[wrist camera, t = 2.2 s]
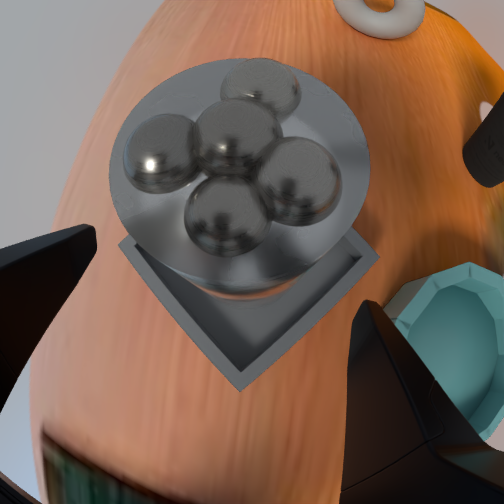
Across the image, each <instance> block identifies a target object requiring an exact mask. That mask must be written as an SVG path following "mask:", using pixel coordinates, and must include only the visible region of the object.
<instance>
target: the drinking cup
mask: <svg viewBox="0 0 504 504" xmlns="http://www.w3.org/2000/svg"><path fill="white" fill-rule="evenodd" d="M463 159H464V162H465V165H466V167H467V169H468V171H469V172H470V174H471V175H472V177H473V178H474V179H475V180H476V181H477V182H478V183H480V184H481V185H483V186H485V187H488V188H491V187H494V186H496V185H498V184H500V183H502V182H503V181H504V92H503V94H502V95H501V97H500V98H499V100H498V101H497V102H496V104H495V105H494V107H493V108H492V110H491V111H490V112H489V114H488V115H487V117H486V118H485V119H484V121H483V122H482V123H481V125H480V126H479V127H478V129H477V130H476V131H475V133H474V134H473V135H472V136H471V138H470V139H469V140H468V142H467V143H466V144H465V146H464V148H463Z"/></svg>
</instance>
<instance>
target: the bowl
mask: <svg viewBox="0 0 504 504" xmlns="http://www.w3.org/2000/svg"><path fill="white" fill-rule="evenodd" d="M383 310H384V312H385V313H386V314H387V315H388V317H389V318H390V319H391V320H392V322H393V323H394V324H395V326H396V327H397V328H398V329H399V331H400V332H401V333H402V334H403V336H404V337H405V338H406V340H407V341H408V342H409V344H410V345H411V346H412V348H413V349H414V350H415V351H416V353H417V354H418V355H419V357H420V358H421V359H422V361H423V362H424V364H425V365H426V366H427V368H428V369H429V370H430V372H431V373H432V374H433V376H434V377H435V380H437V381H438V383H439V384H440V385H441V387H442V388H443V390H444V391H445V392H446V394H447V395H448V396H449V398H450V399H451V401H452V402H453V403H454V404H455V406H456V407H457V408H458V409H459V411H460V412H461V413H462V414H463V416H464V417H465V418H466V419H467V421H468V422H469V423H470V424H471V426H472V427H473V428H474V429H475V431H476V432H477V433H478V434H479V436H480V437H481V438H482V439H483V441H485V440H487V439H488V438H489V437H490V436H491V435H492V433H493V432H494V430H495V429H496V428H497V426H498V424H499V423H500V422H501V420H502V419H503V417H504V279H503V277H502V276H501V275H499V274H496V273H494V272H492V271H490V270H487V269H485V268H483V267H481V266H478V265H476V264H474V263H472V262H467V263H464V264H461V265H458V266H455V267H453V268H450V269H447V270H444V271H441V272H438V273H435V274H432V275H429V276H426V277H423V278H420V279H417V280H414V281H411V282H407V283H405V284H404V285H403V286H402V287H401V289H400V290H399V291H398V292H397V293H396V295H395V296H394V297H393V298H392V299H391V300H390V302H389V303H388V304H387V305H386V306H385V307H384V309H383Z"/></svg>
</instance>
